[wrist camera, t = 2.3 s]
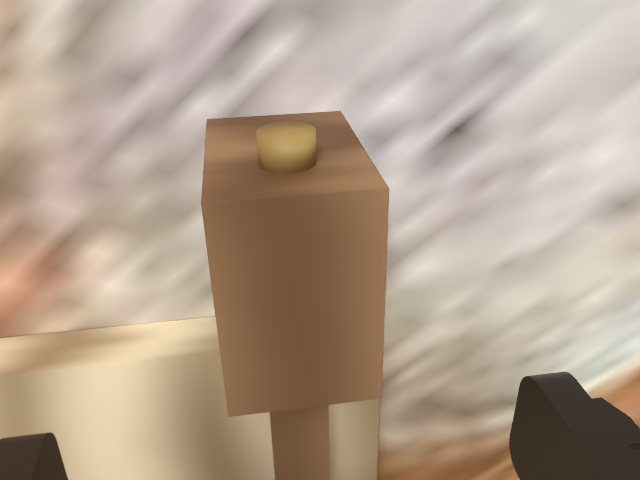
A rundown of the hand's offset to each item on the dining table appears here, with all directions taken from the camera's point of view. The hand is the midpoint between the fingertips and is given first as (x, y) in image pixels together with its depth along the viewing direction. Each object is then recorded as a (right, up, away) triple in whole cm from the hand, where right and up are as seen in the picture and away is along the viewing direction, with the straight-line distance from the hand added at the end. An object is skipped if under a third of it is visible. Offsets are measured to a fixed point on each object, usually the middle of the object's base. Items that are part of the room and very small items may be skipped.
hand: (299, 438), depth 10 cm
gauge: (-1, 0, +11) cm, 11 cm away
